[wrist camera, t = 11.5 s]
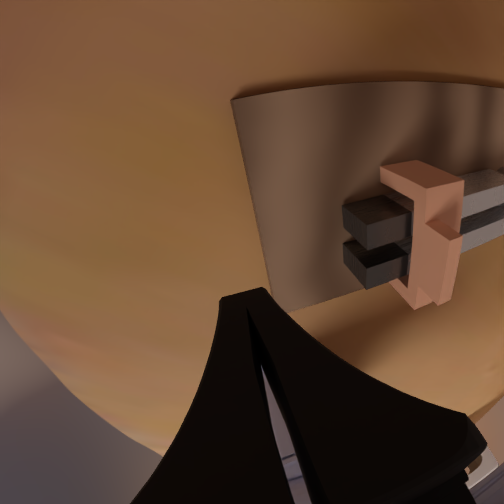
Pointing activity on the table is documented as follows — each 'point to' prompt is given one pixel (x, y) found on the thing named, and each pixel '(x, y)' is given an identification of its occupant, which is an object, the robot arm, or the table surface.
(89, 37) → the table surface
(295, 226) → the walnut board
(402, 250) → the base
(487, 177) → the tongs arm
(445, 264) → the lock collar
